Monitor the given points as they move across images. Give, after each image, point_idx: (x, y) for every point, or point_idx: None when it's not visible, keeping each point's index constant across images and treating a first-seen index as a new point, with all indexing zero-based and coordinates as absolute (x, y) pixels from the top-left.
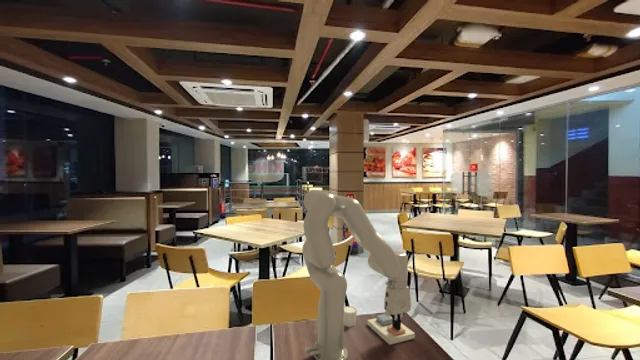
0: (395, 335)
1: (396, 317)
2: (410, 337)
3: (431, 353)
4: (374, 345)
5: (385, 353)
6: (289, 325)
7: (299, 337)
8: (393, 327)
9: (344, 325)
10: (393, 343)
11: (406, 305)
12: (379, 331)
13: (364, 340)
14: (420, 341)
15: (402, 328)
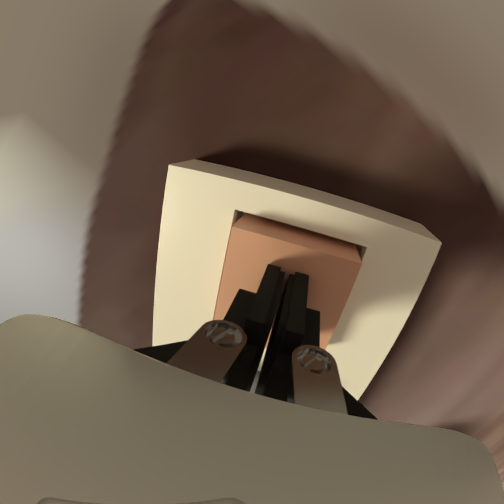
0: (351, 250)
1: (310, 377)
2: (224, 172)
3: (228, 3)
4: (463, 296)
5: (489, 198)
6: None
7: None
8: None
9: None
10: (396, 218)
11: (14, 459)
12: (379, 361)
13: (451, 357)
14: (168, 131)
15: (233, 262)
